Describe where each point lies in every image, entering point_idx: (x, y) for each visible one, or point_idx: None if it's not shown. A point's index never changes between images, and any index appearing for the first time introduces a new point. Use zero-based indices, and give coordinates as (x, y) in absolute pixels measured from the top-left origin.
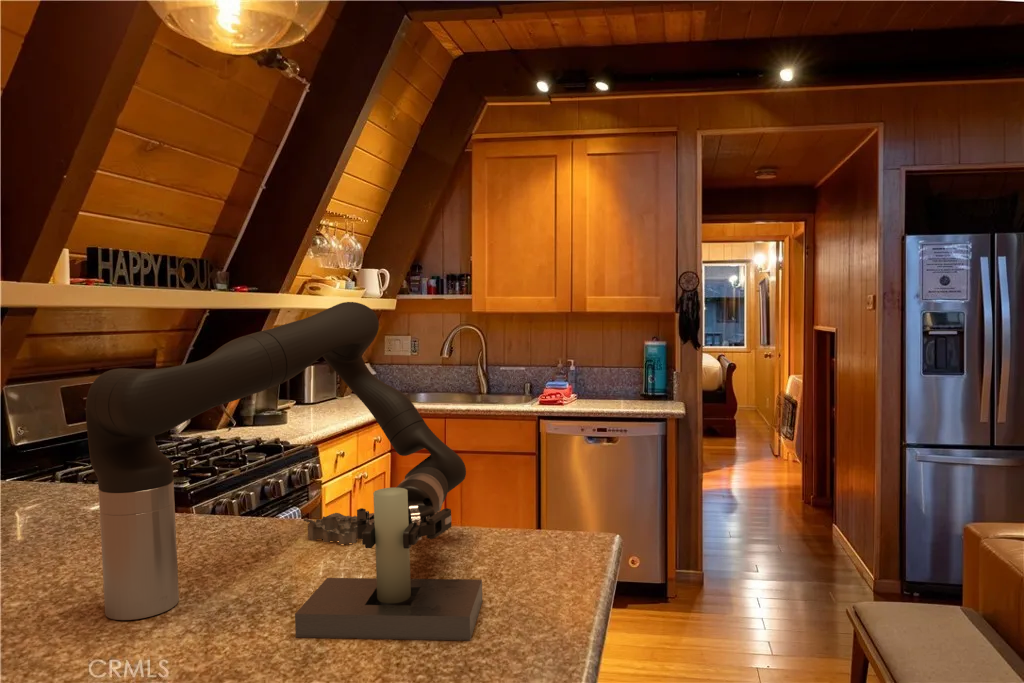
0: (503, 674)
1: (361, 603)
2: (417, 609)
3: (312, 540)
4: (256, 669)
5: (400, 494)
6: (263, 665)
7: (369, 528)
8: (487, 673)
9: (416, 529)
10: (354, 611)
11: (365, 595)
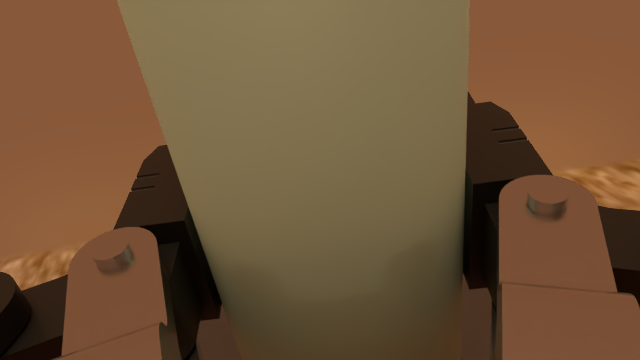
0: (45, 251)
1: (479, 357)
2: (233, 343)
3: None
4: (595, 180)
5: None
6: (595, 192)
7: (471, 113)
8: (77, 249)
9: (134, 205)
10: (464, 295)
11: None
